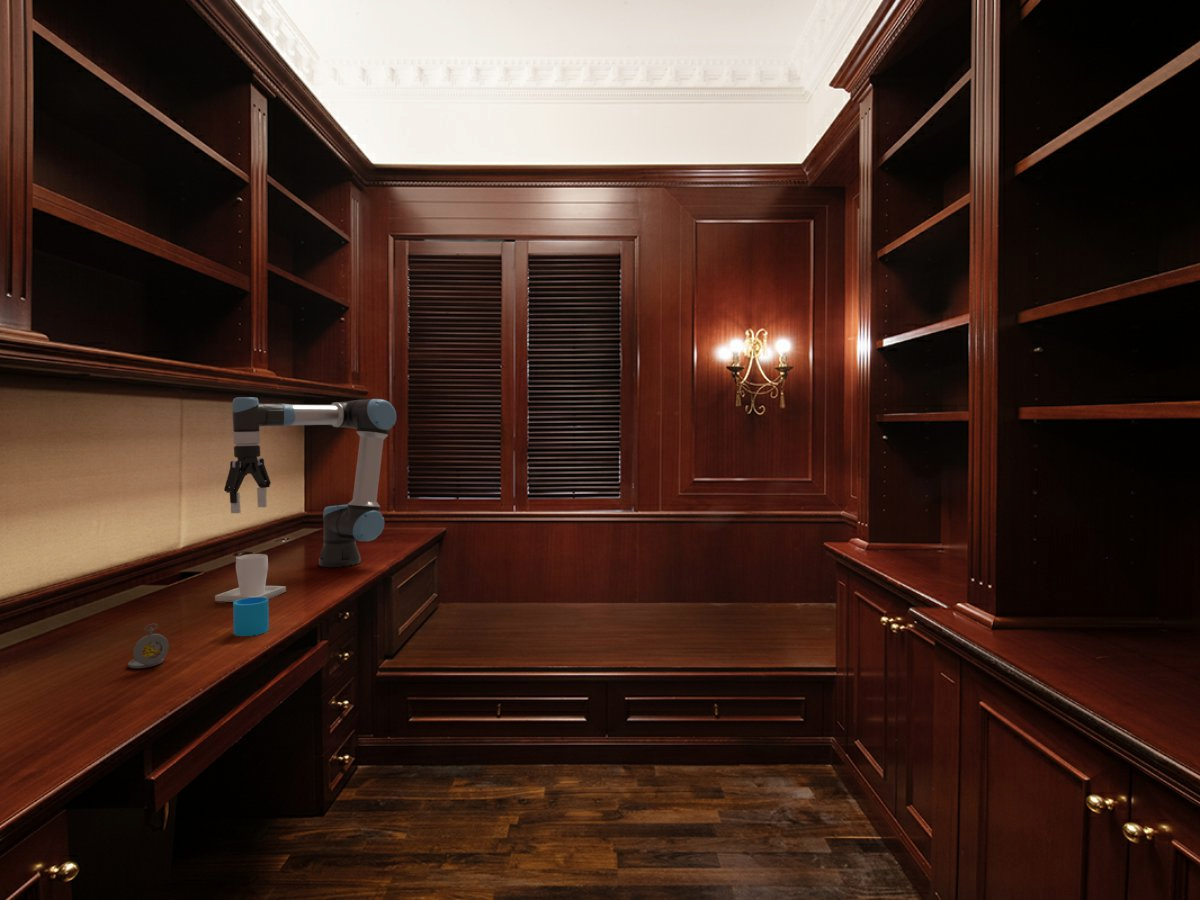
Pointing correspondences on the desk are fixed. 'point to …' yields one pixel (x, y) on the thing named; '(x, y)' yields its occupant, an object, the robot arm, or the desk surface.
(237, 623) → the mug
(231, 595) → the tray
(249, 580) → the cup
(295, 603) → the desk surface
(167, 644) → the pocket watch
